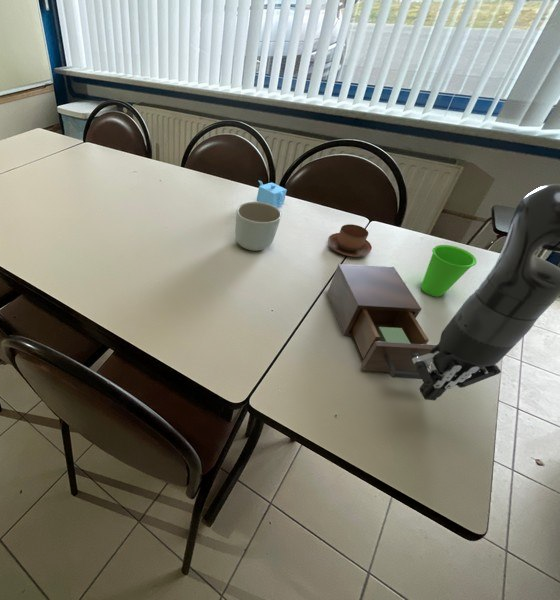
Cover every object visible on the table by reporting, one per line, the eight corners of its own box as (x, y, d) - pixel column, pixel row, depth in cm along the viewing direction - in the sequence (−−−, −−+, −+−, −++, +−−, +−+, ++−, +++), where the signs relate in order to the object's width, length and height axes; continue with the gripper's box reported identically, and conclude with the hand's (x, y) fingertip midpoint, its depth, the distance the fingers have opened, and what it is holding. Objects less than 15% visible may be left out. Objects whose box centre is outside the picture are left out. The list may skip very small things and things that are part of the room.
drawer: (433, 394, 70) (454, 370, 65) (370, 390, 70) (386, 366, 66) (395, 325, 84) (410, 301, 79) (343, 322, 84) (354, 298, 79)
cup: (414, 296, 93) (435, 261, 85) (410, 276, 99) (430, 241, 92) (455, 305, 90) (481, 269, 83) (448, 284, 96) (472, 249, 89)
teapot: (249, 199, 133) (252, 179, 128) (261, 195, 135) (265, 176, 130) (273, 213, 125) (278, 192, 120) (286, 208, 128) (291, 188, 123)
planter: (271, 235, 115) (279, 203, 107) (275, 257, 105) (283, 224, 98) (231, 232, 116) (236, 200, 109) (231, 254, 107) (236, 220, 100)
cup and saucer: (329, 234, 115) (336, 216, 111) (371, 244, 111) (379, 226, 107) (322, 253, 107) (329, 235, 103) (367, 264, 103) (375, 246, 99)
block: (401, 359, 75) (411, 344, 72) (378, 358, 75) (387, 343, 72) (392, 342, 78) (401, 327, 75) (370, 341, 78) (378, 326, 75)
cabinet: (402, 339, 82) (421, 308, 75) (343, 335, 82) (358, 305, 76) (378, 296, 93) (393, 266, 87) (326, 293, 94) (338, 263, 87)
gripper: (451, 342, 49) (395, 412, 61) (556, 348, 48) (479, 418, 60) (425, 304, 55) (379, 375, 66) (519, 310, 54) (455, 380, 65)
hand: (427, 395), depth 63 cm, fingers closed
